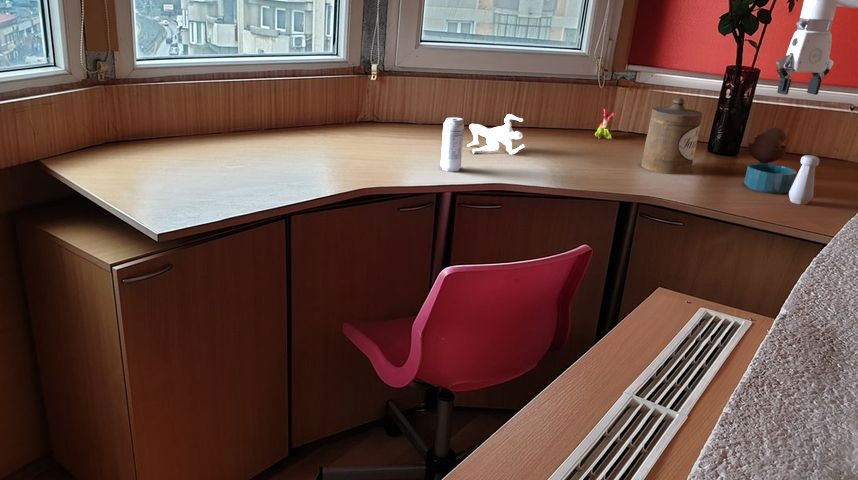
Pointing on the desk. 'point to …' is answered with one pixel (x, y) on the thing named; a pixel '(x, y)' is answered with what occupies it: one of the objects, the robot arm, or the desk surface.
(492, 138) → the person figurine
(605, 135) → the bird rattle
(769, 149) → the brown rounded lumpy piece
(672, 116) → the wooden container
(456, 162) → the energy drink can
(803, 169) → the salt shaker
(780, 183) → the bowl
